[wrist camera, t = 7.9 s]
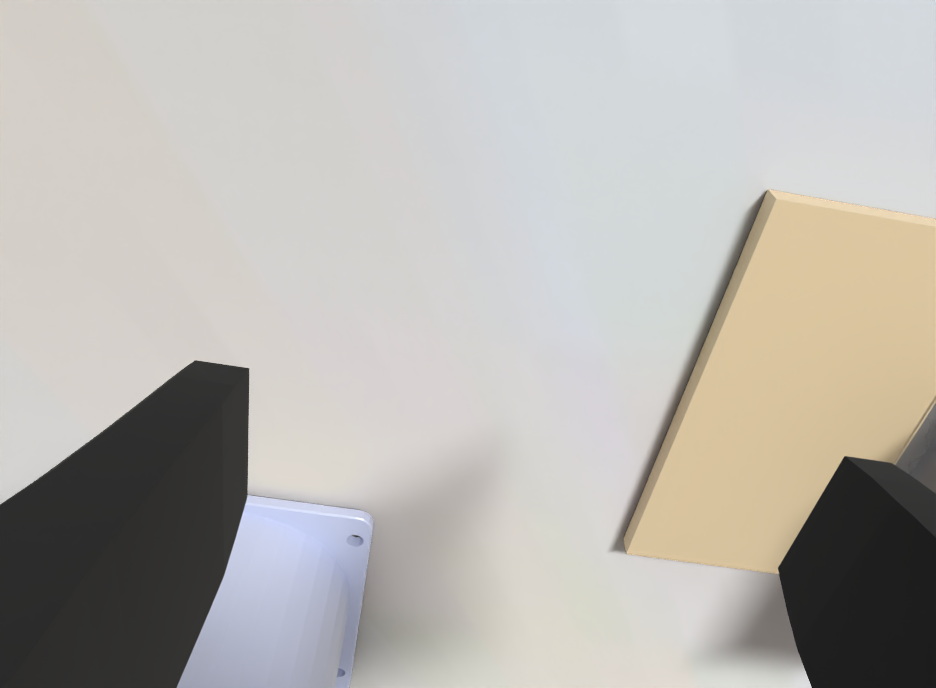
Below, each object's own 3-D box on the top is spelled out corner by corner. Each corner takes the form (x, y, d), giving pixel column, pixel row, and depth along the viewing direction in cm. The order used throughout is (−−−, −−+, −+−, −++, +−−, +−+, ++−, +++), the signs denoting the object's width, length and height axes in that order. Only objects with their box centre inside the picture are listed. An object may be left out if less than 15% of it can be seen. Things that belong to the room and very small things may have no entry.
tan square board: (1023, 592, 25) (1035, 608, 24) (623, 539, 24) (626, 553, 23) (1298, 283, 18) (1322, 294, 18) (767, 189, 17) (776, 198, 17)
